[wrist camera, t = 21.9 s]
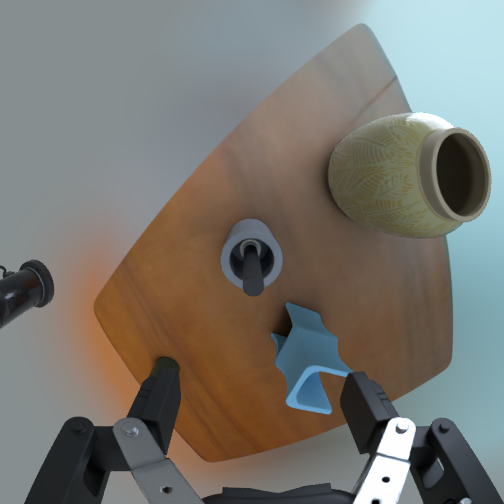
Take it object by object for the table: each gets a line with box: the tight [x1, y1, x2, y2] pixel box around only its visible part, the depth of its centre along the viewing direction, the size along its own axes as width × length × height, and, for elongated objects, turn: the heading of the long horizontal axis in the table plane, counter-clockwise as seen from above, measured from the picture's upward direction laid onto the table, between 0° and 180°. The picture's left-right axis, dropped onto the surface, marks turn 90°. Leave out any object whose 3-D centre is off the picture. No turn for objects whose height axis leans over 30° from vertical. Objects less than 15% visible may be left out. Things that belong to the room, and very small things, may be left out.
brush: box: [240, 238, 264, 296], centre depth 37 cm, size 3×3×22 cm
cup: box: [221, 219, 283, 289], centre depth 42 cm, size 8×8×14 cm
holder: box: [149, 357, 179, 377], centre depth 51 cm, size 5×5×8 cm
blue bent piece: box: [270, 302, 354, 414], centre depth 43 cm, size 8×8×20 cm
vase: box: [328, 112, 491, 238], centre depth 34 cm, size 17×17×27 cm
